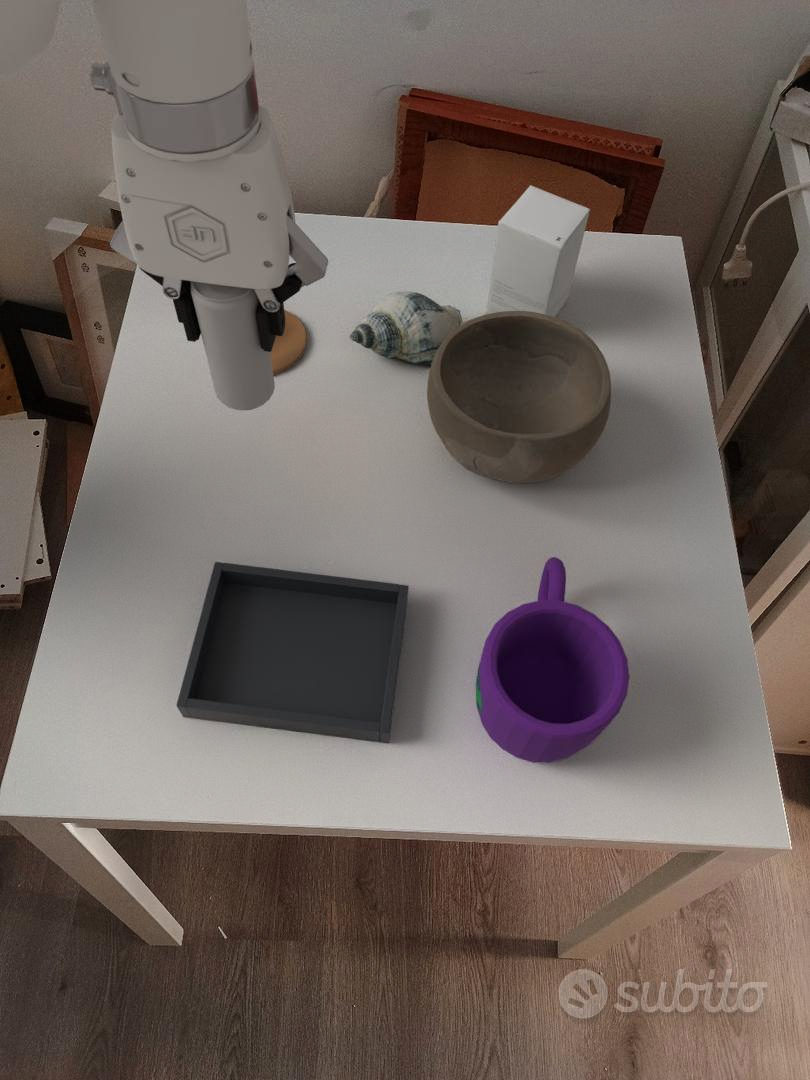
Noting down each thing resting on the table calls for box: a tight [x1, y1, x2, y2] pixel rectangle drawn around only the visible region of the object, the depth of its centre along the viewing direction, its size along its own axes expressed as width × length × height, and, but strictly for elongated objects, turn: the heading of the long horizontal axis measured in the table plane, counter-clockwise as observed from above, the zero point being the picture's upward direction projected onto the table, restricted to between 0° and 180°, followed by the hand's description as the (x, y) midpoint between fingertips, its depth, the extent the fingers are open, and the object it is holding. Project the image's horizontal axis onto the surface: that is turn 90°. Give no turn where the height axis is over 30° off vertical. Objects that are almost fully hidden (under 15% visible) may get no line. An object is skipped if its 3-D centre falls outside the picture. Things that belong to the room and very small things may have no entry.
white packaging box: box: [485, 184, 591, 318], centre depth 90 cm, size 7×7×13 cm
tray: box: [176, 561, 409, 744], centre depth 72 cm, size 18×14×3 cm
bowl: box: [426, 311, 612, 484], centre depth 82 cm, size 17×18×10 cm
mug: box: [475, 556, 630, 764], centre depth 69 cm, size 17×11×10 cm, turn 172°
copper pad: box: [270, 309, 308, 375], centre depth 91 cm, size 10×10×1 cm
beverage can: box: [190, 281, 276, 411], centre depth 62 cm, size 5×5×12 cm
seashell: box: [349, 290, 463, 365], centre depth 89 cm, size 6×8×12 cm
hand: (234, 330), depth 61 cm, fingers closed on beverage can, 4 cm apart
